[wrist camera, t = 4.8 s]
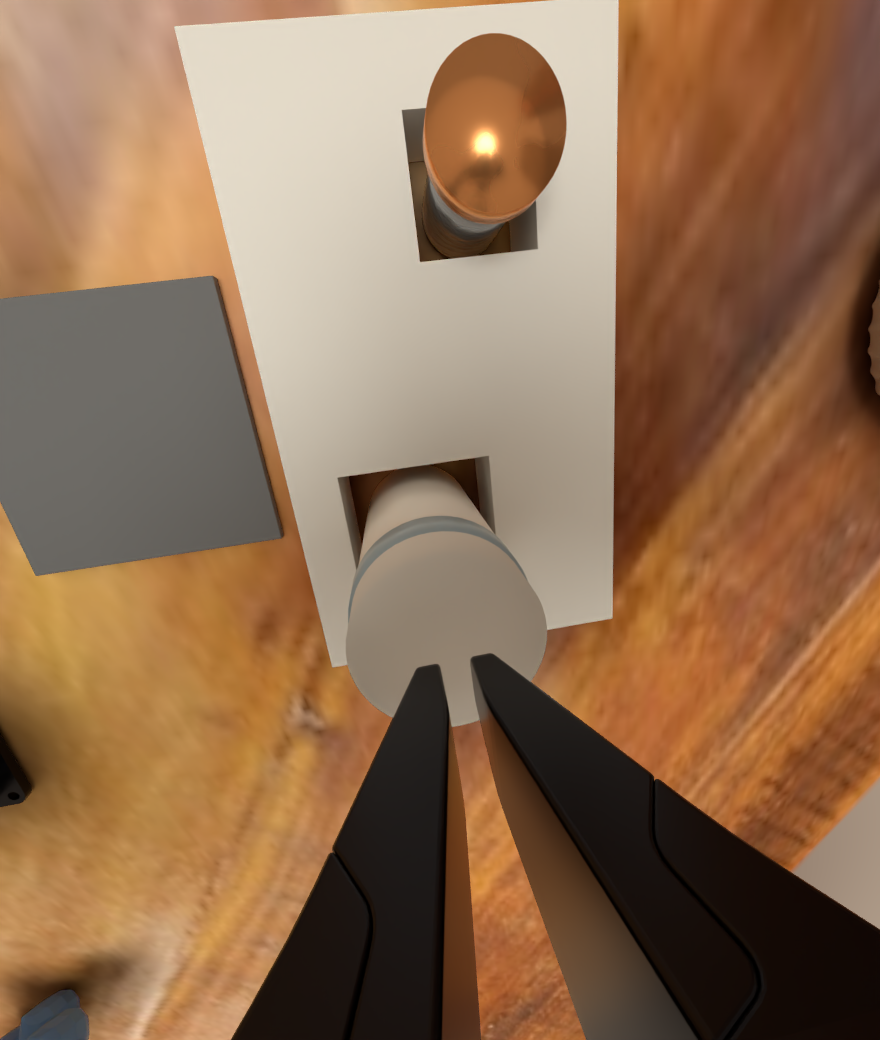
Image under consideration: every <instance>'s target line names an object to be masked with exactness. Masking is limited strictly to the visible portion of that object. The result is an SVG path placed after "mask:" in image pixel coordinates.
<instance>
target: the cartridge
mask: <svg viewBox="0 0 880 1040" xmlns="http://www.w3.org/2000/svg"><path fill="white" fill-rule="evenodd" d="M546 642H547V624H546V617H545V613H544V610H543V607H542V604H541V602H540V600H539V598H538V596H537V594H536V593H535V591H534V590H533V588H532V587H531V585H530V584H529V583H528V580H527V578H526V576H525V574H524V571H523V570H522V568H521V567H520V565H519V563H518V562H517V560H516V559H515V558H514V556H513V555H512V554H511V552H510V551H509V549H508V548H507V547H506V545H505V544H504V543H503V542H502V541H501V540H500V539H499V538H498V537H497V536H496V535H495V534H494V533H493V531H492V530H491V528H490V527H489V526H488V524H487V523H486V521H485V520H484V518H483V517H482V516H481V514H480V513H479V511H478V510H477V508H476V507H475V506H474V504H473V503H472V501H471V500H470V498H469V497H468V496H467V494H466V493H465V491H464V490H463V488H462V487H461V486H460V484H459V483H458V482H457V481H456V480H455V479H454V478H453V477H452V476H451V475H450V474H448V473H447V472H445V471H443V470H441V469H439V468H436V467H433V466H429V465H422V466H415V467H408V468H401V469H397V470H395V471H393V472H392V473H390V474H389V475H387V476H386V477H385V478H384V479H383V480H382V481H381V482H380V483H379V484H378V486H377V487H376V489H375V490H374V492H373V495H372V497H371V500H370V503H369V509H368V515H367V520H366V526H365V532H364V538H363V543H362V549H361V555H360V560H359V566H358V568H357V570H356V573H355V576H354V580H353V585H352V590H351V595H350V601H349V607H348V629H347V636H346V659H347V665H348V668H349V671H350V674H351V676H352V678H353V680H354V682H355V684H356V686H357V688H358V689H359V690H360V692H361V693H362V695H363V696H364V697H365V698H366V699H367V700H368V701H369V702H370V703H371V704H372V705H373V706H375V707H376V708H377V709H378V710H380V711H382V712H383V713H385V714H386V715H388V716H390V717H392V718H393V717H394V715H395V712H396V710H397V708H398V706H399V704H400V702H401V700H402V697H403V695H404V693H405V691H406V689H407V687H408V685H409V683H410V680H411V678H412V676H413V674H414V672H415V670H416V669H417V668H418V667H421V666H426V665H431V664H439V665H440V668H441V672H442V677H443V682H444V687H445V692H446V697H447V702H448V707H449V713H450V719H451V726H452V727H454V726H461V725H465V724H469V723H473V722H475V721H478V720H480V719H479V715H478V711H477V707H476V702H475V696H474V689H473V682H472V674H471V667H470V659H471V657H473V656H477V655H482V654H487V653H492V654H495V655H496V656H497V657H499V658H500V659H501V660H503V661H504V662H505V663H506V664H508V665H509V666H510V667H512V668H513V669H514V670H516V671H517V672H518V673H520V674H521V675H522V676H524V677H525V678H526V679H528V680H529V681H530V682H531V680H532V679H533V677H534V676H535V674H536V673H537V671H538V668H539V666H540V664H541V662H542V659H543V656H544V653H545V648H546Z"/></svg>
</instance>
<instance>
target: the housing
mask: <svg viewBox="0 0 880 1040" xmlns="http://www.w3.org/2000/svg"><path fill="white" fill-rule="evenodd" d="M174 28H175V32H176V36H177V40H178V44H179V48H180V52H181V56H182V60H183V64H184V68H185V72H186V76H187V80H188V84H189V89H190V93H191V97H192V101H193V105H194V109H195V113H196V117H197V121H198V125H199V129H200V133H201V137H202V141H203V145H204V149H205V153H206V157H207V161H208V166H209V170H210V174H211V178H212V182H213V186H214V190H215V194H216V198H217V202H218V206H219V210H220V214H221V218H222V222H223V226H224V230H225V234H226V238H227V243H228V247H229V251H230V255H231V259H232V263H233V267H234V271H235V275H236V279H237V283H238V287H239V291H240V295H241V299H242V303H243V307H244V311H245V315H246V320H247V324H248V328H249V332H250V336H251V340H252V344H253V348H254V352H255V356H256V360H257V364H258V368H259V372H260V376H261V380H262V384H263V388H264V392H265V397H266V401H267V405H268V409H269V413H270V417H271V421H272V425H273V429H274V433H275V437H276V441H277V445H278V449H279V453H280V457H281V461H282V465H283V469H284V474H285V478H286V482H287V486H288V490H289V494H290V498H291V502H292V506H293V510H294V514H295V518H296V522H297V526H298V530H299V534H300V538H301V542H302V546H303V551H304V555H305V559H306V563H307V567H308V571H309V575H310V579H311V583H312V587H313V591H314V595H315V599H316V603H317V607H318V611H319V615H320V619H321V623H322V628H323V632H324V636H325V640H326V644H327V648H328V652H329V656H330V660H331V664H332V668H333V667H338V666H344V665H347V659H346V636H347V629H348V607H349V601H350V595H351V590H352V585H353V580H354V576H355V573H356V570H357V568H358V566H359V560H360V555H361V549H362V543H361V538H360V532H359V527H358V522H357V517H356V512H355V507H354V502H353V497H352V492H351V487H350V482H349V477H348V476H352V475H359V474H366V473H373V472H380V471H387V470H394V469H401V468H408V467H415V466H422V465H429V464H436V463H442V462H449V461H456V460H463V459H470V458H475V465H476V476H477V486H478V496H479V507H480V514H481V516H482V517H483V518H484V520H485V521H486V523H487V524H488V526H489V527H490V528H491V530H492V531H493V533H494V534H495V535H496V536H497V537H498V538H499V539H500V540H501V541H502V542H503V543H504V544H505V545H506V547H507V548H508V549H509V551H510V552H511V554H512V555H513V556H514V558H515V559H516V560H517V562H518V563H519V565H520V567H521V568H522V570H523V571H524V574H525V576H526V578H527V580H528V583H529V584H530V585H531V587H532V588H533V590H534V591H535V593H536V594H537V596H538V598H539V600H540V602H541V604H542V607H543V610H544V613H545V617H546V624H547V630H549V629H555V628H561V627H566V626H572V625H578V624H583V623H589V622H595V621H601V620H606V619H612V611H613V509H614V406H615V303H616V200H617V98H618V0H553V1H538V2H524V3H509V4H494V5H480V6H465V7H450V8H436V9H421V10H407V11H392V12H377V13H363V14H348V15H333V16H319V17H304V18H290V19H275V20H260V21H246V22H231V23H216V24H202V25H187V26H174ZM488 33H502V34H507V35H512V36H514V37H517V38H520V39H521V40H523V41H525V42H527V43H528V44H530V45H531V46H532V47H533V48H535V49H536V50H537V51H538V52H539V53H540V54H541V55H542V56H543V57H544V58H545V60H546V61H547V62H548V64H549V65H550V67H551V68H552V70H553V72H554V74H555V75H556V77H557V80H558V82H559V85H560V87H561V91H562V94H563V98H564V103H565V108H566V120H567V125H566V139H565V145H564V150H563V154H562V157H561V160H560V163H559V165H558V168H557V170H556V172H555V174H554V176H553V177H552V179H551V180H550V182H549V184H548V185H547V186H546V187H545V189H544V190H543V191H542V192H541V194H540V195H539V196H538V198H537V199H536V200H535V201H534V202H533V204H532V205H531V206H530V207H529V208H528V209H527V210H526V211H524V212H523V213H522V214H520V215H519V216H517V217H515V218H513V219H511V220H509V231H510V247H511V252H508V253H499V254H490V255H481V256H472V257H462V258H453V259H444V260H435V261H426V262H420V258H419V249H418V241H417V233H416V225H415V216H414V208H413V200H412V192H411V183H410V175H409V167H408V162H417V161H425V160H424V154H423V127H424V119H425V111H426V105H427V98H428V95H429V91H430V87H431V85H432V82H433V80H434V77H435V75H436V73H437V71H438V70H439V68H440V66H441V65H442V63H443V62H444V60H445V59H446V58H447V57H448V55H449V54H450V53H451V52H452V51H453V50H454V49H455V48H457V47H458V46H459V45H461V44H462V43H463V42H465V41H467V40H469V39H471V38H473V37H476V36H479V35H482V34H488Z"/></svg>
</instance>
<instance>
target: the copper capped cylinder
mask: <svg viewBox="0 0 880 1040" xmlns="http://www.w3.org/2000/svg"><path fill="white" fill-rule="evenodd" d="M566 125H567V120H566V108H565V103H564V98H563V94H562V91H561V87H560V85H559V82H558V80H557V77H556V75H555V74H554V72H553V70H552V68H551V67H550V65H549V64H548V62H547V61H546V60H545V58H544V57H543V56H542V55H541V54H540V53H539V52H538V51H537V50H536V49H535V48H533V47H532V46H531V45H530V44H528V43H527V42H525V41H523V40H521V39H520V38H517V37H514V36H512V35H507V34H502V33H488V34H482V35H479V36H476V37H473V38H471V39H469V40H467V41H465V42H463V43H462V44H461V45H459V46H458V47H457V48H455V49H454V50H453V51H452V52H451V53H450V54H449V55H448V57H447V58H446V59H445V60H444V62H443V63H442V65H441V66H440V68H439V70H438V71H437V73H436V75H435V77H434V80H433V82H432V85H431V87H430V91H429V95H428V98H427V105H426V111H425V119H424V127H423V154H424V160H425V165H426V168H427V172H428V175H427V180H426V186H425V192H424V197H423V203H422V221H423V226H424V230H425V232H426V235H427V237H428V238H429V240H430V242H431V243H432V245H433V246H434V247H435V248H436V249H437V250H438V251H439V252H441V253H442V254H444V255H445V256H448V257H450V258H462V257H472V256H477V255H479V254H480V253H482V252H483V251H484V250H485V249H486V248H487V247H488V246H489V245H490V244H491V242H492V241H493V239H494V238H495V237H496V235H497V234H498V232H499V231H500V230H501V228H502V227H503V225H504V224H505V222H506V221H509V220H511V219H513V218H515V217H517V216H519V215H520V214H522V213H523V212H524V211H526V210H527V209H528V208H529V207H530V206H531V205H532V204H533V202H534V201H535V200H536V199H537V198H538V196H539V195H540V194H541V192H542V191H543V190H544V189H545V187H546V186H547V185H548V184H549V182H550V180H551V179H552V177H553V176H554V174H555V172H556V170H557V168H558V165H559V163H560V160H561V157H562V154H563V150H564V145H565V139H566Z"/></svg>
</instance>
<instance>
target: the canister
mask: <svg viewBox="0 0 880 1040" xmlns="http://www.w3.org/2000/svg"><path fill="white" fill-rule="evenodd" d="M872 309H873V318H872V322H871V324H870V326H869V328H868V330H869V332H870V346H869V348H868V354H869V355H870V357H871V362H872V365H871V368H870V373H871V374H872V376H873V377H874V379H875V382H876V385H875V390H876V392H877V394H878V395H879V396H880V280H879V290H878V294H877V297H876V299H875V302H874V303H873V304H872Z"/></svg>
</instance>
